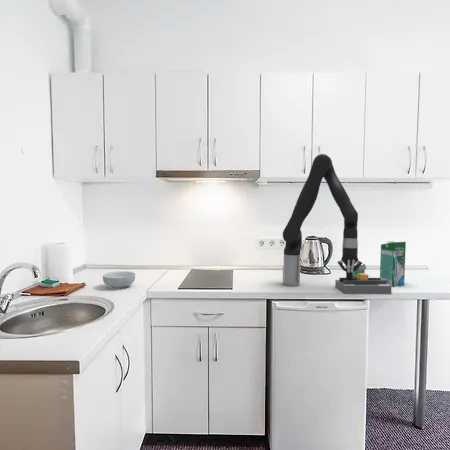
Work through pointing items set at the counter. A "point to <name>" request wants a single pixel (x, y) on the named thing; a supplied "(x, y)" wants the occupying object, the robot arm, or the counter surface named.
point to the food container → (359, 271)
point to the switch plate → (363, 286)
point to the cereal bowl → (119, 279)
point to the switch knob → (362, 276)
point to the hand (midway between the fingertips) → (349, 279)
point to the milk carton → (393, 263)
